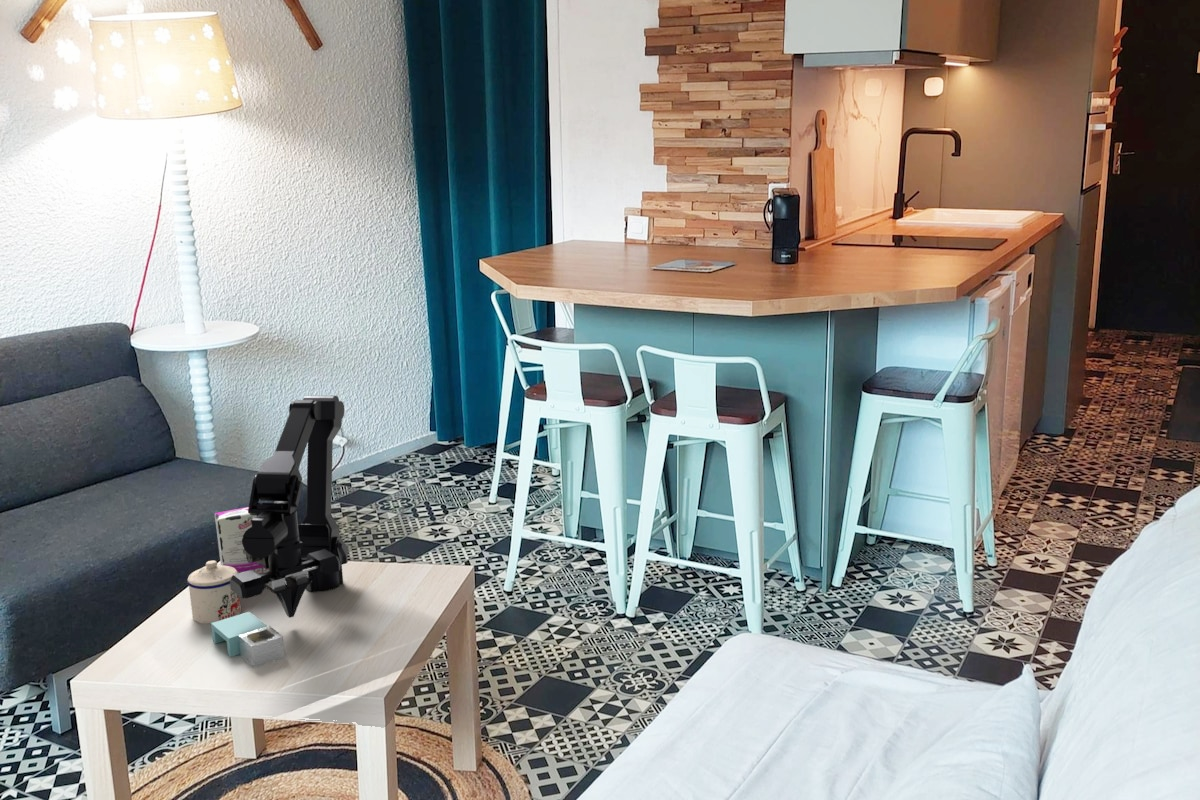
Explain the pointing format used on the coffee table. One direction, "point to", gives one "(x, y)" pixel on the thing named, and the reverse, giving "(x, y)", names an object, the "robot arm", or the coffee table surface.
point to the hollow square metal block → (261, 646)
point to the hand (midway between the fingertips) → (290, 616)
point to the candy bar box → (235, 539)
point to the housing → (234, 630)
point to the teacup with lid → (213, 593)
